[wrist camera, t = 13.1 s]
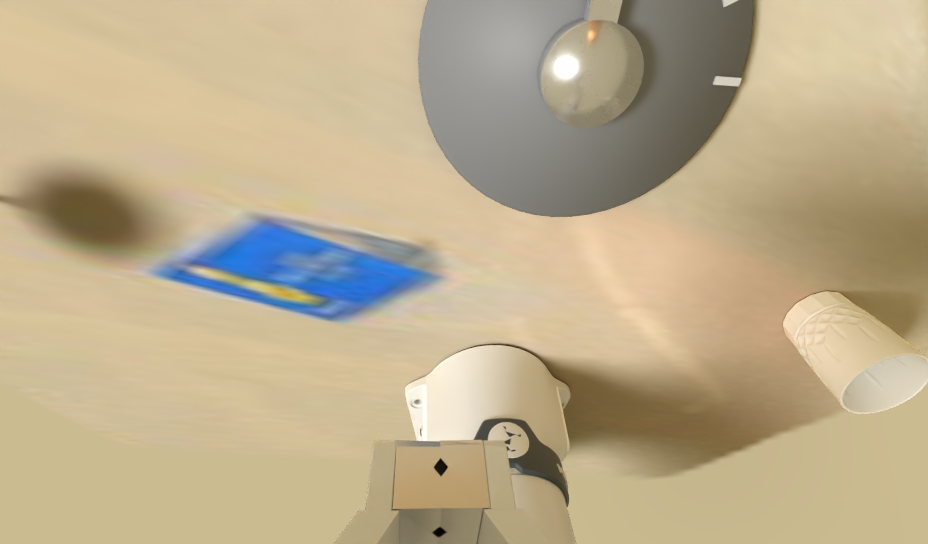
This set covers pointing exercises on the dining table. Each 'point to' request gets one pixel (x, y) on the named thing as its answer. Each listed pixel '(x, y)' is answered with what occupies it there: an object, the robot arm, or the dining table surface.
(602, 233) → the dining table surface
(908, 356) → the white cup
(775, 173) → the dining table surface
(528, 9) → the dial plate
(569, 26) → the dial
